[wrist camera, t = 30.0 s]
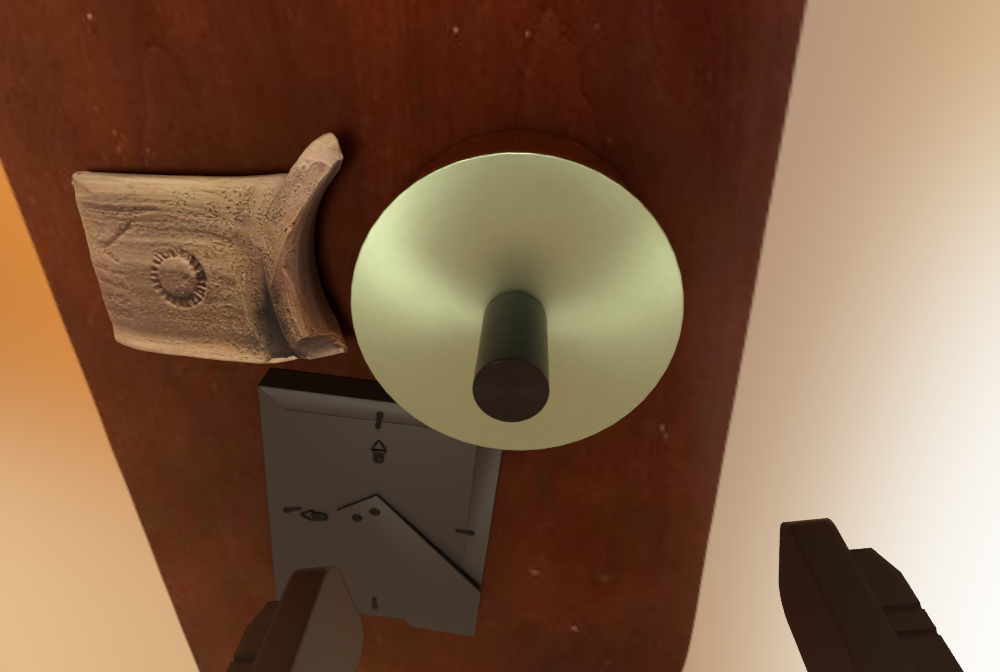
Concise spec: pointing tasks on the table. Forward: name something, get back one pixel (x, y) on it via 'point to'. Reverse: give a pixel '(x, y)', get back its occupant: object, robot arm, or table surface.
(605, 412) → the lid
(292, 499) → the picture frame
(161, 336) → the fragment
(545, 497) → the table surface
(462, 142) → the pot
